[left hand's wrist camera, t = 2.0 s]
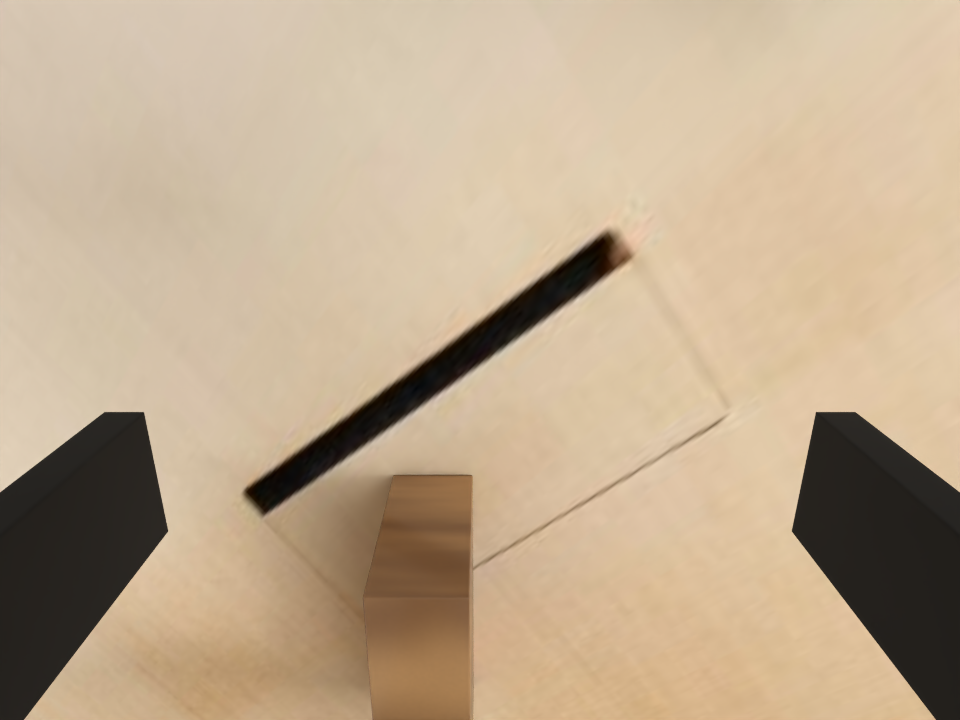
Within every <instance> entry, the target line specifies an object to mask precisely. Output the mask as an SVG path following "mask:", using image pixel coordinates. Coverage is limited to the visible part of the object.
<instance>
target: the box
mask: <svg viewBox="0 0 960 720" xmlns="http://www.w3.org/2000/svg"><path fill="white" fill-rule="evenodd" d="M363 605H364V617H365V630H366V643H367V655H368V668H369V680H370V693H371V705H372V718H373V720H473V477H472V476H471V475H394V476H393V479H392V483H391V487H390V491H389V495H388V499H387V503H386V507H385V511H384V515H383V519H382V523H381V527H380V532H379V536H378V540H377V544H376V548H375V552H374V556H373V560H372V564H371V568H370V572H369V576H368V580H367V584H366V588H365V592H364V596H363Z"/></svg>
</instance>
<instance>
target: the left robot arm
mask: <svg viewBox="0 0 960 720" xmlns="http://www.w3.org/2000/svg"><path fill="white" fill-rule="evenodd" d="M167 532H168V528H167V523H166V518H165V514H164V509H163V504H162V499H161V494H160V489H159V484H158V479H157V474H156V469H155V464H154V460H153V455H152V450H151V445H150V440H149V435H148V430H147V425H146V420H145V415H144V412H104V413H103V414H102V415H100V416H99V417H98V418H96V419H95V420H94V421H93V422H91V423H90V424H89V425H87V426H86V427H85V428H83V429H82V430H81V431H80V432H78V433H77V434H76V435H74V436H73V437H72V438H70V439H69V440H68V441H67V442H65V443H64V444H63V445H61V446H60V447H59V448H57V449H56V450H55V451H54V452H52V453H51V454H50V455H48V456H47V457H46V458H44V459H43V460H42V461H41V462H39V463H38V464H37V465H35V466H34V467H33V468H31V469H30V470H29V471H28V472H26V473H25V474H24V475H22V476H21V477H20V478H18V479H17V480H16V481H15V482H13V483H12V484H11V485H9V486H8V487H7V488H5V489H4V490H3V491H2V492H0V720H24V719H25V718H26V716H27V715H28V714H29V712H30V711H31V710H32V708H33V707H34V706H35V705H36V703H37V702H38V701H39V699H40V698H41V697H42V695H43V694H44V693H45V691H46V690H47V689H48V688H49V686H50V685H51V684H52V682H53V681H54V680H55V678H56V677H57V676H58V674H59V673H60V672H61V671H62V669H63V668H64V667H65V665H66V664H67V663H68V661H69V660H70V659H71V657H72V656H73V655H74V654H75V652H76V651H77V650H78V648H79V647H80V646H81V644H82V643H83V642H84V641H85V639H86V638H87V637H88V635H89V634H90V633H91V631H92V630H93V629H94V627H95V626H96V625H97V624H98V622H99V621H100V620H101V618H102V617H103V616H104V614H105V613H106V612H107V610H108V609H109V608H110V607H111V605H112V604H113V603H114V601H115V600H116V599H117V597H118V596H119V595H120V593H121V592H122V591H123V590H124V588H125V587H126V586H127V584H128V583H129V582H130V580H131V579H132V578H133V576H134V575H135V574H136V573H137V571H138V570H139V569H140V567H141V566H142V565H143V563H144V562H145V561H146V559H147V558H148V557H149V556H150V554H151V553H152V552H153V550H154V549H155V548H156V546H157V545H158V544H159V542H160V541H161V540H162V539H163V537H164V536H165V535H166V533H167ZM792 532H793V533H794V535H795V536H796V537H797V539H798V540H799V541H800V542H801V544H802V545H803V546H804V548H805V549H806V550H807V552H808V553H809V554H810V556H811V557H812V558H813V559H814V561H815V562H816V563H817V565H818V566H819V567H820V569H821V570H822V571H823V573H824V574H825V575H826V576H827V578H828V579H829V580H830V582H831V583H832V584H833V586H834V587H835V588H836V590H837V591H838V592H839V593H840V595H841V596H842V597H843V599H844V600H845V601H846V603H847V604H848V605H849V607H850V608H851V609H852V610H853V612H854V613H855V614H856V616H857V617H858V618H859V620H860V621H861V622H862V624H863V625H864V626H865V627H866V629H867V630H868V631H869V633H870V634H871V635H872V637H873V638H874V639H875V641H876V642H877V643H878V644H879V646H880V647H881V648H882V650H883V651H884V652H885V654H886V655H887V656H888V657H889V659H890V660H891V661H892V663H893V664H894V665H895V667H896V668H897V669H898V671H899V672H900V673H901V674H902V676H903V677H904V678H905V680H906V681H907V682H908V684H909V685H910V686H911V688H912V689H913V690H914V691H915V693H916V694H917V695H918V697H919V698H920V699H921V701H922V702H923V703H924V705H925V706H926V707H927V708H928V710H929V711H930V712H931V714H932V715H933V716H934V718H935V719H936V720H960V492H958V491H957V490H956V489H955V488H953V487H952V486H951V485H949V484H948V483H947V482H945V481H944V480H943V479H942V478H940V477H939V476H938V475H936V474H935V473H934V472H932V471H931V470H930V469H929V468H927V467H926V466H925V465H923V464H922V463H921V462H919V461H918V460H917V459H916V458H914V457H913V456H912V455H910V454H909V453H908V452H906V451H905V450H904V449H903V448H901V447H900V446H899V445H897V444H896V443H895V442H893V441H892V440H891V439H890V438H888V437H887V436H886V435H884V434H883V433H882V432H880V431H879V430H878V429H877V428H875V427H874V426H873V425H871V424H870V423H869V422H867V421H866V420H865V419H864V418H862V417H861V416H860V415H858V414H857V413H856V412H816V415H815V420H814V425H813V430H812V435H811V440H810V445H809V450H808V455H807V460H806V464H805V469H804V474H803V479H802V484H801V489H800V494H799V499H798V504H797V509H796V514H795V518H794V523H793V528H792Z"/></svg>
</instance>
